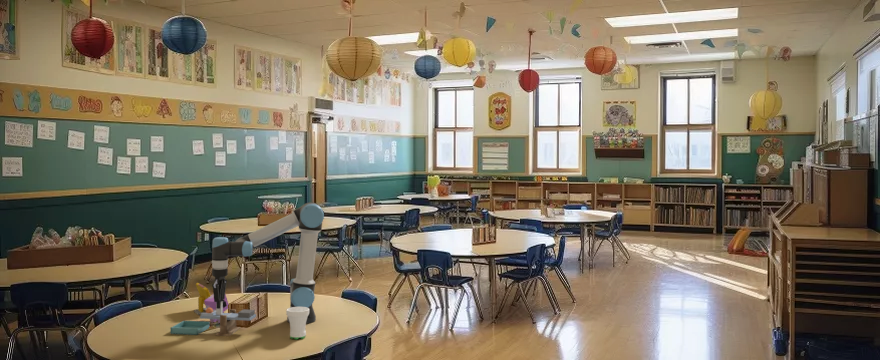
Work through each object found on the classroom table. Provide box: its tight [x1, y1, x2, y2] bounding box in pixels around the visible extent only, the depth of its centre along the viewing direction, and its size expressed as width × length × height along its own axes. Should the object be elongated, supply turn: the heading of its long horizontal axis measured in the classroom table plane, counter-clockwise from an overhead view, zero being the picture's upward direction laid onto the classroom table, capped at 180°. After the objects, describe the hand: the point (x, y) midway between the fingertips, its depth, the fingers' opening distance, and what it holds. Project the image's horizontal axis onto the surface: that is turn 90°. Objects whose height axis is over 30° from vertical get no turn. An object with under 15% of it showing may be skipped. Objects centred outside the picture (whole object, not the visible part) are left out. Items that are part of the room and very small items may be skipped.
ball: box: [206, 307, 213, 313], centre depth 347 cm, size 4×4×4 cm
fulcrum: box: [215, 308, 241, 337], centre depth 346 cm, size 7×14×10 cm, turn 175°
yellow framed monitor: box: [193, 282, 211, 316], centre depth 385 cm, size 20×8×16 cm, turn 34°
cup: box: [285, 307, 309, 340], centre depth 336 cm, size 11×11×14 cm
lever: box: [199, 308, 257, 322], centre depth 346 cm, size 26×10×4 cm, turn 85°
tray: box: [169, 320, 211, 336], centre depth 348 cm, size 14×14×3 cm
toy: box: [204, 293, 230, 324], centre depth 365 cm, size 11×8×15 cm
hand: (219, 314), depth 346 cm, fingers closed
